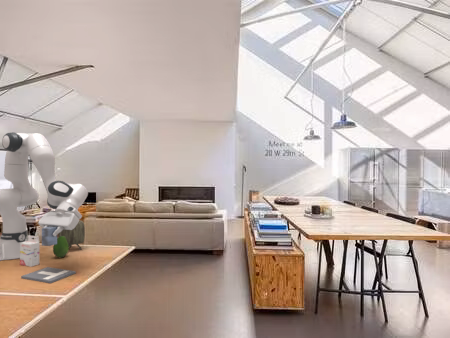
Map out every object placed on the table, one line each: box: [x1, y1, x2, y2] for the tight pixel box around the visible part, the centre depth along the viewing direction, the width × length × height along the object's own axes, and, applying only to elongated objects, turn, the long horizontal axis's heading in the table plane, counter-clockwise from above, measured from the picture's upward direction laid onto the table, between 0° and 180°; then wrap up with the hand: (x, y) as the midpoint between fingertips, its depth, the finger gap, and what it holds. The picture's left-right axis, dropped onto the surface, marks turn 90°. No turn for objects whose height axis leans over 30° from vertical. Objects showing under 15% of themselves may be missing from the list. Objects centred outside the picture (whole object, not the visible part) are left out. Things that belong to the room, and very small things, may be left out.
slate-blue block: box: [41, 227, 58, 247], centre depth 146 cm, size 4×4×8 cm
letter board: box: [20, 266, 77, 284], centre depth 146 cm, size 18×14×1 cm
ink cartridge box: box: [19, 234, 40, 268], centre depth 162 cm, size 9×5×15 cm, turn 71°
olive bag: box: [58, 219, 86, 250], centre depth 193 cm, size 14×9×25 cm, turn 58°
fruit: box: [52, 236, 70, 259], centre depth 176 cm, size 8×8×12 cm
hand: (48, 235), depth 145 cm, fingers closed on slate-blue block, 4 cm apart
